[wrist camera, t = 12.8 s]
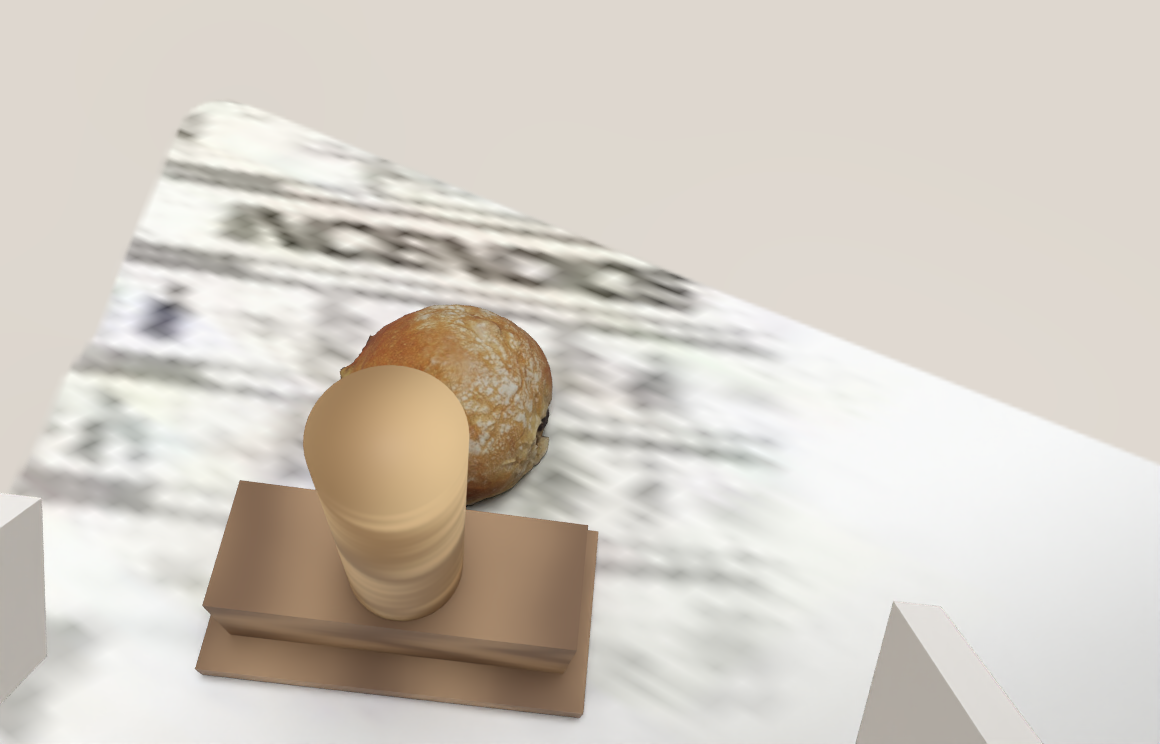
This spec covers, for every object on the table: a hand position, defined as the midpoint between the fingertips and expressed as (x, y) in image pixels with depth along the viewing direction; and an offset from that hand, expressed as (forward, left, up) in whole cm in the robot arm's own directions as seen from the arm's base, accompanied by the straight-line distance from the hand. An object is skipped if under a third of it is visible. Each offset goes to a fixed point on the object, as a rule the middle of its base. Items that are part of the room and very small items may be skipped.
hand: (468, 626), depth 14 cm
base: (+3, -7, -26) cm, 27 cm away
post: (+3, -7, -20) cm, 22 cm away
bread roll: (+3, -16, -27) cm, 31 cm away
